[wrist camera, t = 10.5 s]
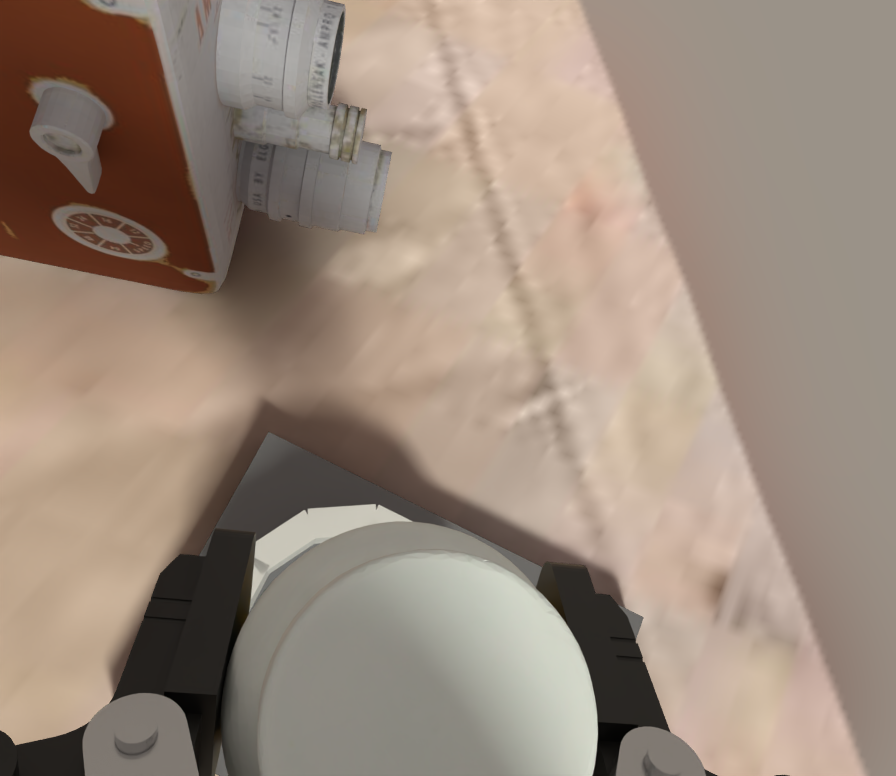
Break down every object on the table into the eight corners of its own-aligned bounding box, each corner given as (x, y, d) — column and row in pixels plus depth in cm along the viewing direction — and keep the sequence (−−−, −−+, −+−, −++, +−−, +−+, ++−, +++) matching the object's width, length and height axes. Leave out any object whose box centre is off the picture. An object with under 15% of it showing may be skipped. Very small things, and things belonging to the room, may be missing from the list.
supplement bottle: (494, 775, 18) (699, 952, 9) (256, 818, 16) (199, 1071, 7) (465, 539, 19) (614, 475, 10) (243, 564, 18) (182, 518, 9)
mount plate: (115, 716, 27) (85, 734, 23) (270, 439, 30) (265, 416, 26) (523, 908, 27) (559, 957, 24) (627, 616, 31) (673, 618, 27)
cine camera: (351, 359, 32) (425, -5, 13) (-154, 260, 29) (-1007, -382, 10) (388, 168, 34) (494, -367, 15) (-72, 62, 32) (-622, -737, 13)
